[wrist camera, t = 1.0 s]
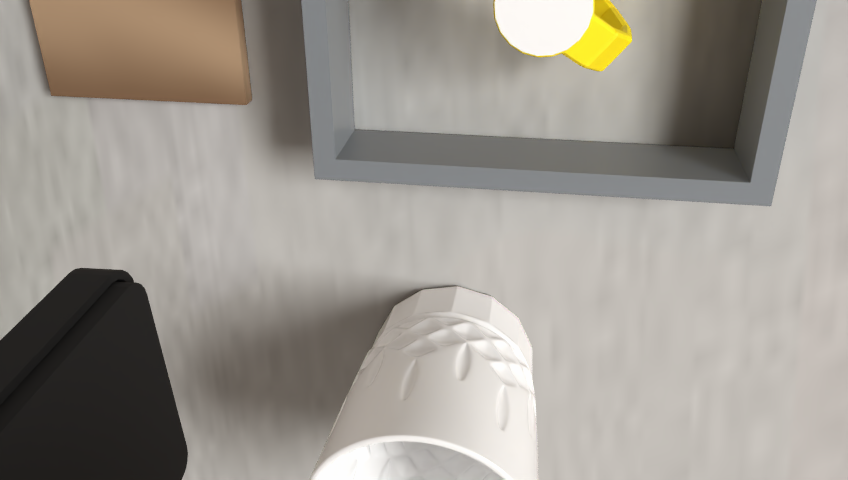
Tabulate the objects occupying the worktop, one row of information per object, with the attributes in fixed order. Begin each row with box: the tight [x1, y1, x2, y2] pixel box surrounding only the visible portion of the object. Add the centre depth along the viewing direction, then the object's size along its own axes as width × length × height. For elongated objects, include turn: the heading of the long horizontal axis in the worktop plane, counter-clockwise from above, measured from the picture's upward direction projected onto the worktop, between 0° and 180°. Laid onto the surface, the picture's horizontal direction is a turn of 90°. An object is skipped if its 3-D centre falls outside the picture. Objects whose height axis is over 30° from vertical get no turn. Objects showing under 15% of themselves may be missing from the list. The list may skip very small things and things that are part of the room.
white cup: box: [309, 286, 538, 480], centre depth 31 cm, size 8×8×10 cm
